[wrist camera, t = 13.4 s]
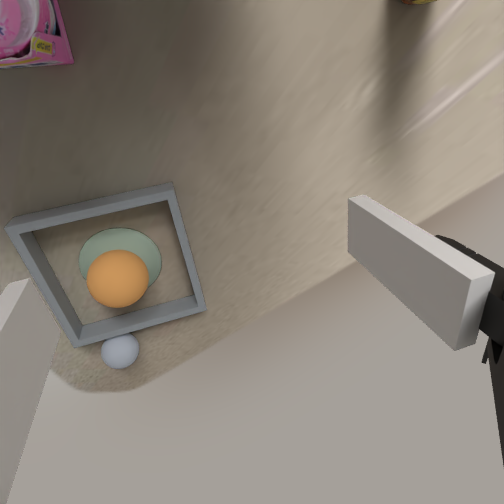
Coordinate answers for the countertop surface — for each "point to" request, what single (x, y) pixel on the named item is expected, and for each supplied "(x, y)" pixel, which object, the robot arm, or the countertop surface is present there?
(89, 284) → the ball
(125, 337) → the grey ball
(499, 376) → the robot arm
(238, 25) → the countertop surface
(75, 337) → the corral
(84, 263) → the pad
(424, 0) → the sauce bottle
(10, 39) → the gum box
